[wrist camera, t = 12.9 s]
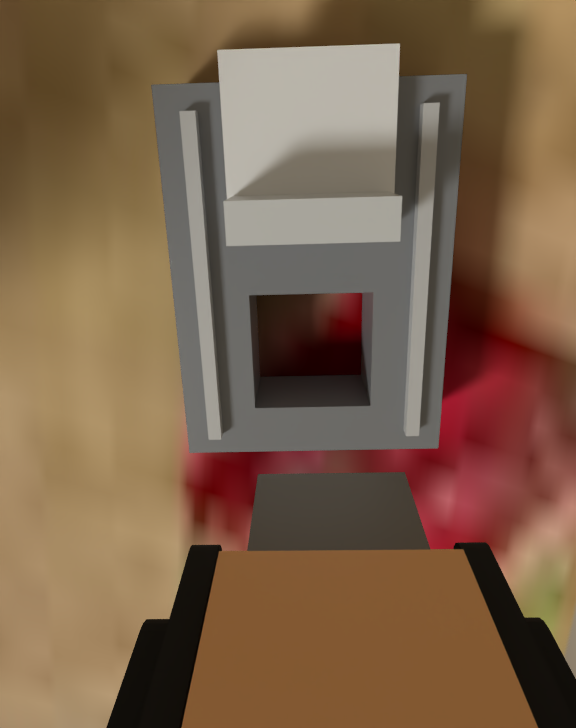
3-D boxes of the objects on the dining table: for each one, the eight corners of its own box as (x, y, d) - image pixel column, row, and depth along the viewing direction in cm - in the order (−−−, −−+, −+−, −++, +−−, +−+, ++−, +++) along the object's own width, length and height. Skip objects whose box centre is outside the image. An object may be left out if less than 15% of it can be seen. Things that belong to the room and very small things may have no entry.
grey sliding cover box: (202, 416, 30) (187, 458, 26) (173, 96, 24) (147, 82, 20) (420, 412, 30) (441, 454, 25) (440, 88, 24) (471, 71, 20)
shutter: (231, 233, 22) (219, 246, 19) (220, 54, 20) (203, 30, 16) (389, 228, 22) (407, 241, 19) (396, 47, 20) (418, 22, 16)
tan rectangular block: (238, 458, 12) (79, 1207, 3) (424, 456, 12) (748, 1228, 3) (248, 602, 13) (154, 1388, 5) (414, 602, 13) (623, 1410, 5)
